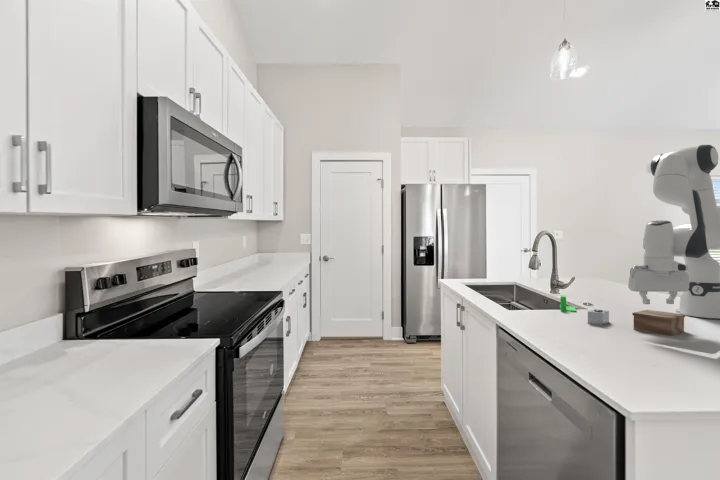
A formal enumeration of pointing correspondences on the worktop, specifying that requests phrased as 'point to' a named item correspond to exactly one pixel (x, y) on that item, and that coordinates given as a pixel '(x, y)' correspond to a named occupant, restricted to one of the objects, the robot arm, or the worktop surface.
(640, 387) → the worktop surface
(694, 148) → the robot arm
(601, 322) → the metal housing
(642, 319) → the walnut stand
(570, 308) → the mechanical part
